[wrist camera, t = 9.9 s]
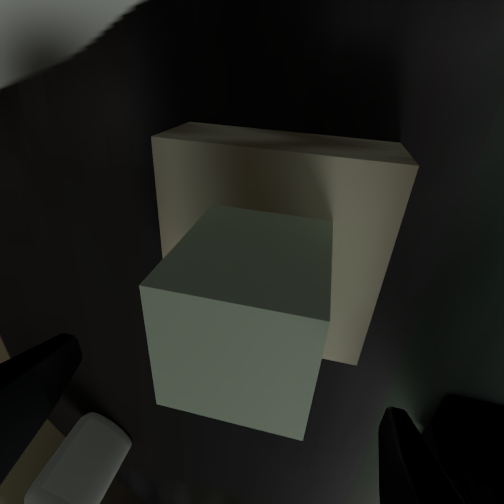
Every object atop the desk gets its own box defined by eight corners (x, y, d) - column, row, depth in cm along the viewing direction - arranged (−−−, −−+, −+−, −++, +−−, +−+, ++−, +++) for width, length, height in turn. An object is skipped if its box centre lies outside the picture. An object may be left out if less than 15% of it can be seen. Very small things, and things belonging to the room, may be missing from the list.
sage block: (333, 221, 13) (330, 321, 8) (314, 317, 16) (302, 440, 10) (212, 204, 14) (139, 285, 9) (213, 298, 16) (156, 403, 11)
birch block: (400, 142, 15) (419, 166, 11) (353, 313, 20) (356, 365, 16) (189, 121, 16) (151, 136, 13) (195, 284, 21) (169, 326, 18)
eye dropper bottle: (114, 410, 31) (6, 577, 21) (137, 446, 34) (50, 611, 24) (78, 408, 33) (-39, 564, 22) (103, 443, 35) (6, 598, 25)
